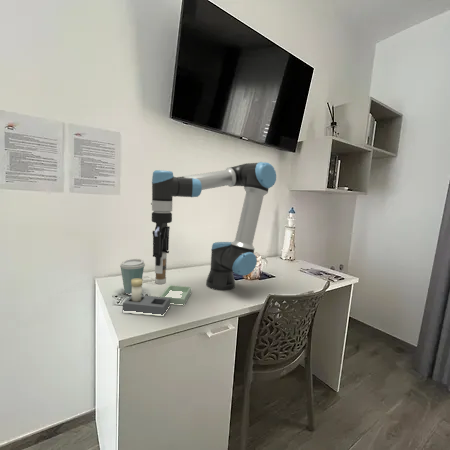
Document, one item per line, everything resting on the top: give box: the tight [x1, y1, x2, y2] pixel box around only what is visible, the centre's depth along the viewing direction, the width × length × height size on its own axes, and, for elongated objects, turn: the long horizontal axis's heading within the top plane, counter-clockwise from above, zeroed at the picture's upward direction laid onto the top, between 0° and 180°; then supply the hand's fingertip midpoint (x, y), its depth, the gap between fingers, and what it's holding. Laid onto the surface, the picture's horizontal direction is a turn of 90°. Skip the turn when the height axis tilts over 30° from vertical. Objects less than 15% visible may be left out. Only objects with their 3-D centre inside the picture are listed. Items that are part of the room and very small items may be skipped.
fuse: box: [131, 278, 144, 302], centre depth 104 cm, size 4×4×12 cm
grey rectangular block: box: [122, 294, 171, 315], centre depth 104 cm, size 16×9×4 cm, turn 85°
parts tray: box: [159, 284, 192, 306], centre depth 118 cm, size 11×15×3 cm
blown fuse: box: [154, 252, 168, 286], centre depth 102 cm, size 4×4×12 cm
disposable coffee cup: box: [119, 258, 146, 294], centre depth 120 cm, size 11×11×15 cm
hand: (160, 271), depth 103 cm, fingers closed on blown fuse, 4 cm apart
